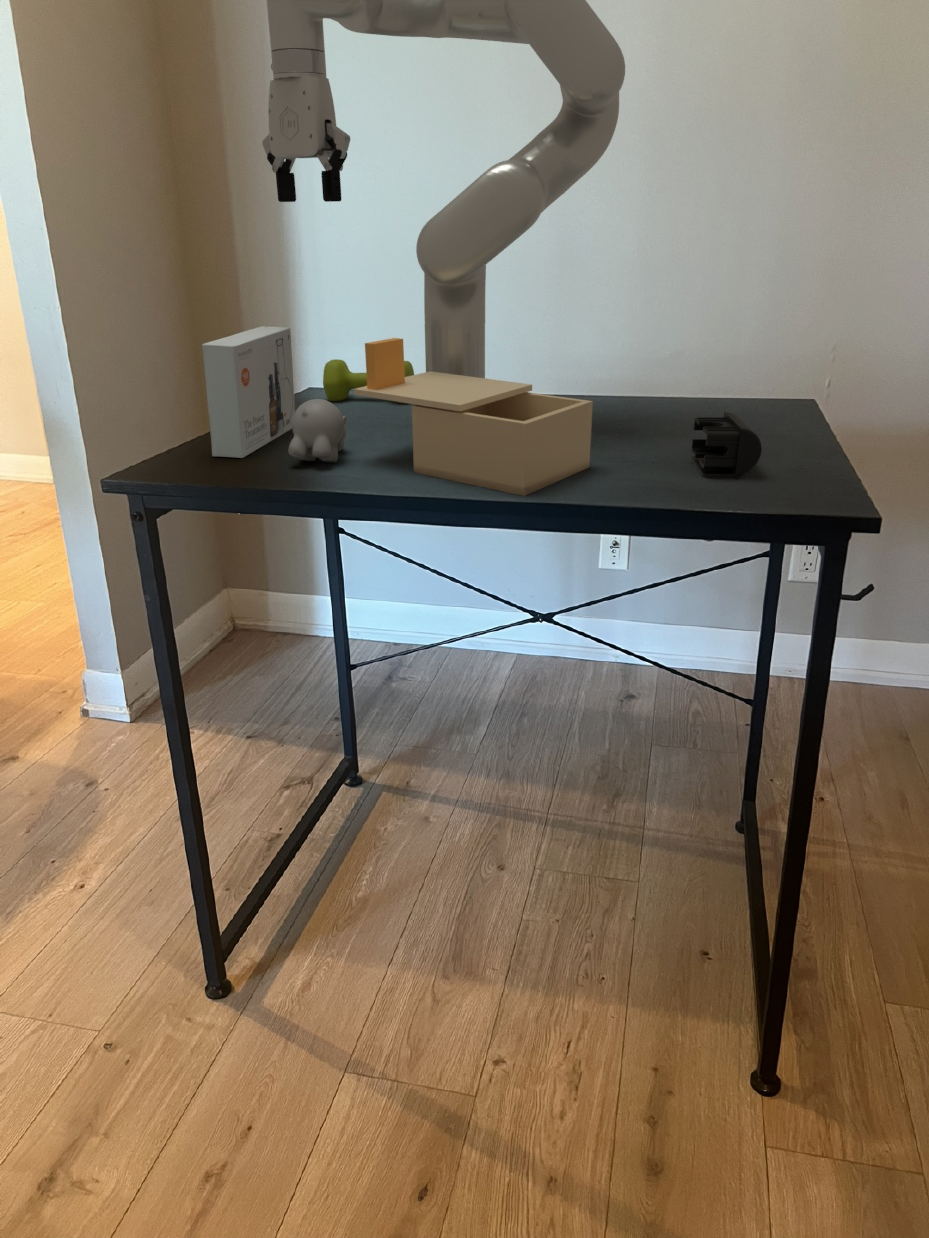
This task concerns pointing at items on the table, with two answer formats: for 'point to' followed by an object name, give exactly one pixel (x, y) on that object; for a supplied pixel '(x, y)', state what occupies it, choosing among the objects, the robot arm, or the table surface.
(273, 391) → the skincare box
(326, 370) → the dumbbell
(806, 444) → the table surface
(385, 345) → the flap
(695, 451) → the end cap
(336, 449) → the white animal toy
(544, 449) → the carton
